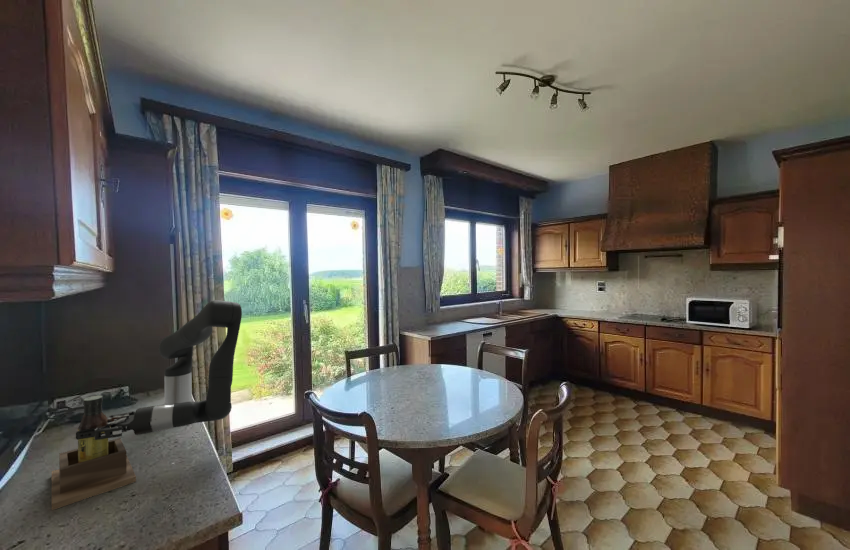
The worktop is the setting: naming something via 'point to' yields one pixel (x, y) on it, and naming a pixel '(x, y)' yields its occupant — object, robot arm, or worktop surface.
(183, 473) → the worktop surface
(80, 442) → the sauce bottle
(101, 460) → the walnut caddy
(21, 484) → the worktop surface
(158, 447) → the worktop surface
